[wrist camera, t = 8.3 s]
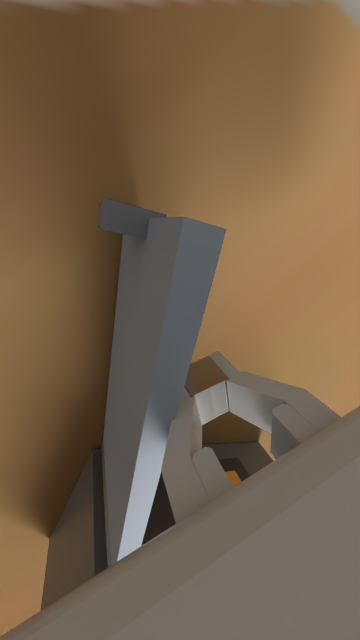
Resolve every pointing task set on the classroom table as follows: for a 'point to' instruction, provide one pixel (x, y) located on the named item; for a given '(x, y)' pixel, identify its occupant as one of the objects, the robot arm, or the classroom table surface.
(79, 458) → the classroom table surface
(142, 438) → the side door
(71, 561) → the camera body
